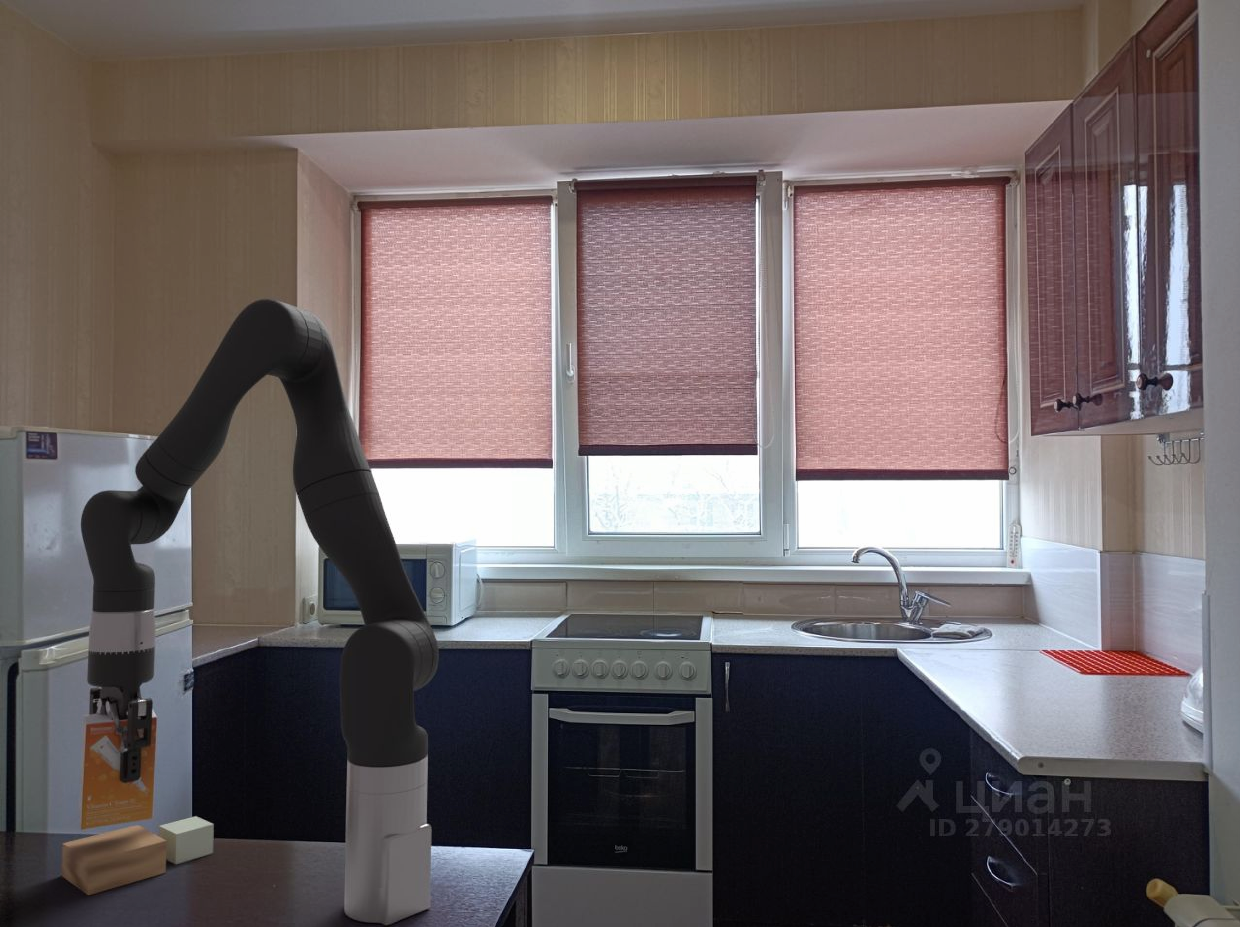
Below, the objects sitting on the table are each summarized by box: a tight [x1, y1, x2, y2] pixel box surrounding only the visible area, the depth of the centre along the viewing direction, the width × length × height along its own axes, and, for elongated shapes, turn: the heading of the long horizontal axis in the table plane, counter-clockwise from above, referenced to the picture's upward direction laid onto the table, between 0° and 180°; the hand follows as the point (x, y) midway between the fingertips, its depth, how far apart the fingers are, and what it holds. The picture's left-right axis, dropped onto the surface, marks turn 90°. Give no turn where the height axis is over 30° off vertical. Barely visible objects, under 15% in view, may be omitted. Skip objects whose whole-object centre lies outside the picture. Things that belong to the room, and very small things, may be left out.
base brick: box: [60, 824, 167, 896], centre depth 114 cm, size 9×9×4 cm
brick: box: [158, 815, 215, 865], centre depth 121 cm, size 5×5×4 cm
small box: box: [78, 707, 158, 831], centre depth 114 cm, size 8×6×13 cm
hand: (117, 775), depth 114 cm, fingers closed on small box, 7 cm apart
